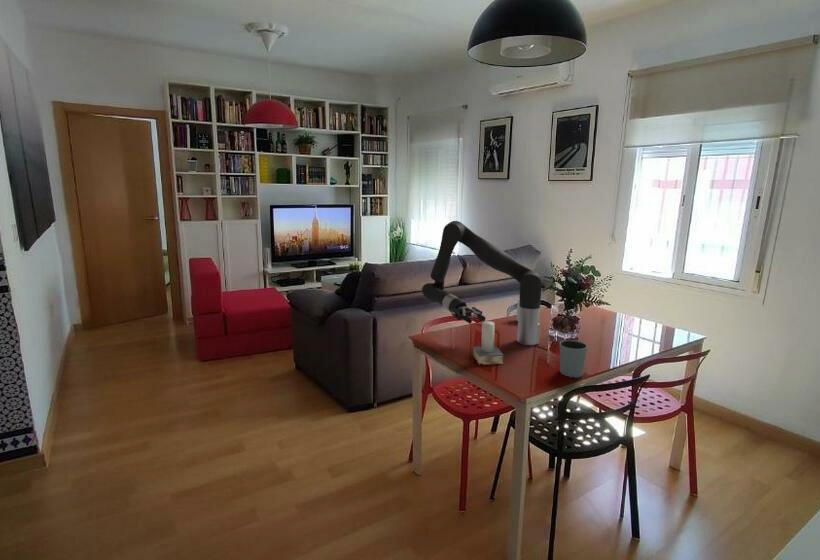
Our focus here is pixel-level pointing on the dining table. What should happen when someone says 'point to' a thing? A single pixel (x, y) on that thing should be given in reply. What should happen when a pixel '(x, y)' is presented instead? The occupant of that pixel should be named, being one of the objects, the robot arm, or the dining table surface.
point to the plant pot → (572, 358)
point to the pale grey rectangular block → (488, 336)
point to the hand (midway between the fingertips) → (478, 320)
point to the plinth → (488, 356)
